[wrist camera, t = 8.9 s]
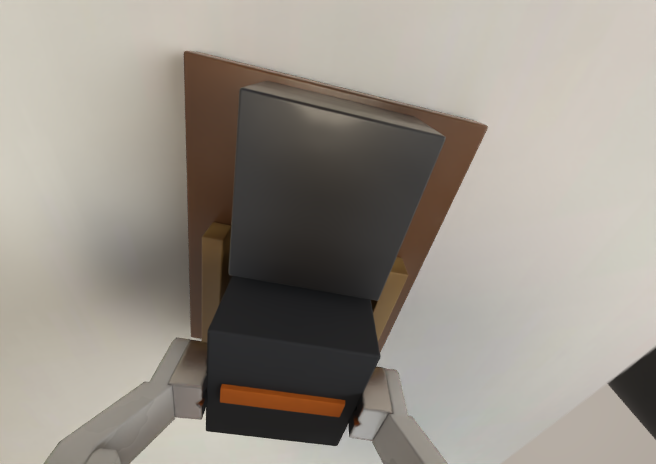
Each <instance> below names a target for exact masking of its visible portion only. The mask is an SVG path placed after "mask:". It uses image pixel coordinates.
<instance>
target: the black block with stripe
mask: <svg viewBox="0 0 656 464" xmlns="http://www.w3.org/2000/svg"><path fill="white" fill-rule="evenodd" d="M379 359H380V351H379V345H378V339H377V333H376V328H375V322H374V316H373V310H372V304H371V300H370V299H364V298H358V297H353V296H347V295H341V294H335V293H330V292H324V291H318V290H312V289H307V288H301V287H295V286H289V285H284V284H278V283H272V282H266V281H261V280H255V279H249V278H243V277H238V276H232V278H231V280H230V282H229V284H228V287H227V289H226V291H225V293H224V295H223V298H222V300H221V302H220V304H219V306H218V309H217V311H216V313H215V315H214V317H213V320H212V322H211V324H210V326H209V328H208V331H207V372H208V385H207V392H208V397H207V406H206V431H210V432H218V433H227V434H236V435H244V436H253V437H262V438H270V439H279V440H288V441H297V442H305V443H314V444H323V445H331V446H337V445H338V444H339V442H340V439H341V437H342V435H343V433H344V431H345V429H346V427H347V425H348V421H349V419H350V417H351V415H352V413H353V411H354V410H355V409H356V407H357V402H358V400H359V398H360V396H361V394H362V393H363V392H364V390H365V388H366V386H367V384H368V382H369V380H370V378H371V376H372V374H373V372H374V370H375V367H376V365H377V363H378V361H379Z"/></svg>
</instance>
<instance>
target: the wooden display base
mask: <svg viewBox="0 0 656 464" xmlns="http://www.w3.org/2000/svg"><path fill="white" fill-rule="evenodd" d="M184 80H185V120H186V159H187V199H188V239H189V278H190V318H191V337H194V338H200V339H202V342H207V331H208V328H209V326H210V324H211V322H212V320H213V317H214V315H215V313H216V311H217V309H218V306H219V304H220V302H221V300H222V298H223V295H224V293H225V291H226V289H227V287H228V284H229V282H230V280H231V278H232V276H238V277H243V278H249V279H255V280H261V281H266V282H272V283H278V284H284V285H289V286H295V287H301V288H307V289H312V290H318V291H324V292H330V293H335V294H341V295H347V296H353V297H358V298H364V299H370V300H371V304H372V310H373V316H374V322H375V328H376V333H377V339H378V345H379V351H380V352H381V350H382V348H383V346H384V344H385V341H386V339H387V337H388V335H389V333H390V331H391V329H392V327H393V325H394V323H395V321H396V319H397V316H398V314H399V312H400V310H401V308H402V306H403V304H404V302H405V300H406V298H407V296H408V293H409V291H410V289H411V287H412V285H413V283H414V281H415V279H416V277H417V275H418V273H419V270H420V268H421V266H422V264H423V262H424V260H425V258H426V256H427V254H428V252H429V250H430V248H431V245H432V243H433V241H434V239H435V237H436V235H437V233H438V231H439V229H440V227H441V225H442V222H443V220H444V218H445V216H446V214H447V212H448V210H449V208H450V206H451V204H452V202H453V200H454V197H455V195H456V193H457V191H458V189H459V187H460V185H461V183H462V181H463V179H464V177H465V174H466V172H467V170H468V168H469V166H470V164H471V162H472V160H473V158H474V156H475V154H476V152H477V149H478V147H479V145H480V143H481V141H482V139H483V137H484V135H485V133H486V131H487V129H488V126H487V125H484V124H482V123H479V122H477V121H474V120H470V119H466V118H462V117H458V116H454V115H449V114H445V113H441V112H437V111H433V110H429V109H425V108H421V107H417V106H413V105H409V104H405V103H401V102H397V101H393V100H389V99H385V98H381V97H377V96H373V95H369V94H365V93H361V92H357V91H353V90H349V89H345V88H341V87H337V86H333V85H329V84H325V83H321V82H317V81H313V80H309V79H305V78H301V77H297V76H293V75H289V74H285V73H281V72H277V71H273V70H269V69H265V68H261V67H257V66H253V65H249V64H245V63H240V62H236V61H232V60H228V59H224V58H220V57H216V56H212V55H208V54H204V53H200V52H194V51H185V52H184Z"/></svg>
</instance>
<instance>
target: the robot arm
mask: <svg viewBox="0 0 656 464" xmlns="http://www.w3.org/2000/svg"><path fill="white" fill-rule="evenodd" d="M207 385H208V372H207V342H202V341H196V340H190V339H183V338H177V337H176V338H175V339H174V340H173V341H172V343H171V345H170V346H169V348H168V350H167V352H166V354H165V355H164V357H163V359H162V361H161V362H160V364H159V366H158V368H157V369H156V371H155V373H154V375H153V376H152V378H151V380H150V382H143V383H142V384H141V385H139V386H138V387H136V388H135V389H133V390H132V391H131V392H129V393H128V394H126V395H125V396H124V397H122V398H121V399H119V400H118V401H116V402H115V403H114V404H112V405H111V406H109V407H108V408H107V409H105V410H104V411H102V412H101V413H99V414H98V415H97V416H95V417H94V418H92V419H91V420H90V421H88V422H87V423H85V424H84V425H82V426H81V427H80V428H78V429H77V430H75V431H74V432H73V433H71V434H70V435H68V436H67V437H65V438H64V439H63V440H61V441H60V442H59V443H58V444H57V446H56V447H55V449H54V450H53V451H52V453H51V454H50V456H49V457H48V458H47V460H46V461H45V462H44V464H129V463H130V462H131V461H132V460H133V459H134V458H135V457H136V456H138V455H139V454H140V453H141V452H142V451H143V450H144V449H145V448H146V447H147V446H148V445H149V444H150V443H151V442H152V441H153V440H154V439H155V438H156V437H157V436H158V435H159V434H160V433H161V432H162V431H163V430H164V429H165V428H166V427H167V426H168V425H169V424H170V423H171V422H172V421H173V420H174V419H175V417H178V418H189V419H200V420H201V419H202V417H203V414H204V411H205V408H206V406H207V397H208V392H207ZM348 423H349V437H350V438H357V439H364V440H370V441H373V442H372V443H373V445H374V447H375V449H376V450H377V452H378V454H379V456H380V458H381V460H382V462H383V464H448V463H447V462H446V460H445V459H444V458H443V456H442V455H441V454H440V453H439V451H438V450H437V449H436V447H435V446H434V445H433V443H432V442H431V441H430V439H429V438H428V437H427V435H426V434H425V433H424V431H423V430H422V429H421V428H420V426H419V425H418V424H417V422H416V421H415V420H414V418H413V417H411V416H408V412H407V408H406V404H405V399H404V395H403V390H402V386H401V382H400V377H399V373H398V372H397V370H394V369H386V368H382V367H375V370H374V372H373V374H372V376H371V378H370V380H369V382H368V384H367V386H366V388H365V390H364V392H363V393H362V394H361V396H360V398H359V400H358V402H357V407H356V409H355V410H354V411H353V413H352V415H351V417H350V419H349V421H348Z"/></svg>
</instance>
